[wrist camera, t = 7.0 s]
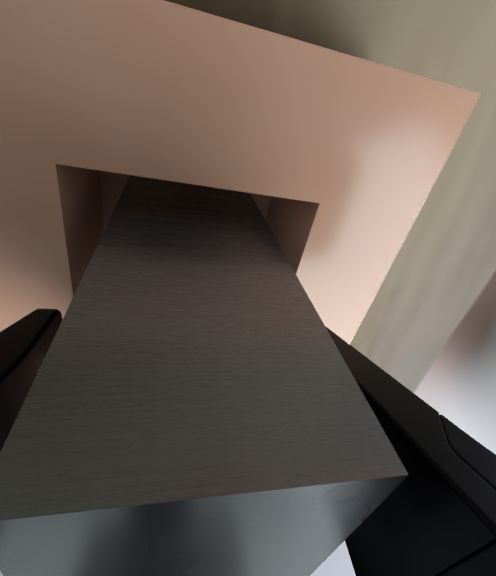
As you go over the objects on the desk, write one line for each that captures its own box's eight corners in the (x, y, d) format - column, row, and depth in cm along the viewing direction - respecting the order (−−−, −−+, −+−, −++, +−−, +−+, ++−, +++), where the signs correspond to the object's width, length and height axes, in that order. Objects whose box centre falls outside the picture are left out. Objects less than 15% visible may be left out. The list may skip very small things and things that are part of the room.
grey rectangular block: (229, 278, 14) (301, 584, 6) (132, 271, 12) (47, 636, 4) (247, 188, 11) (408, 474, 3) (132, 170, 10) (-34, 524, 2)
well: (284, 332, 17) (314, 410, 13) (44, 325, 14) (-8, 424, 10) (371, 84, 11) (481, 93, 7) (-29, -25, 8) (-244, -120, 4)
